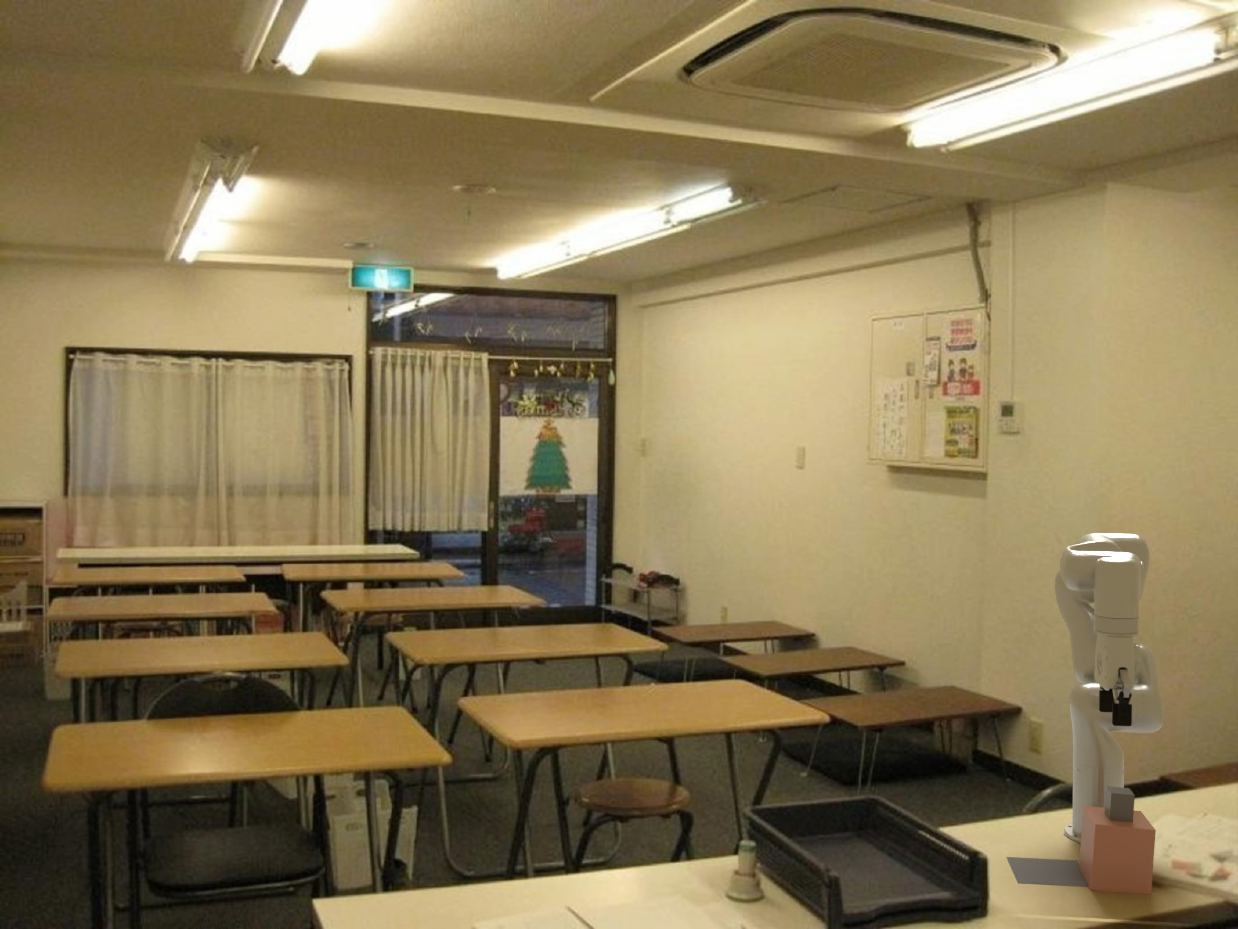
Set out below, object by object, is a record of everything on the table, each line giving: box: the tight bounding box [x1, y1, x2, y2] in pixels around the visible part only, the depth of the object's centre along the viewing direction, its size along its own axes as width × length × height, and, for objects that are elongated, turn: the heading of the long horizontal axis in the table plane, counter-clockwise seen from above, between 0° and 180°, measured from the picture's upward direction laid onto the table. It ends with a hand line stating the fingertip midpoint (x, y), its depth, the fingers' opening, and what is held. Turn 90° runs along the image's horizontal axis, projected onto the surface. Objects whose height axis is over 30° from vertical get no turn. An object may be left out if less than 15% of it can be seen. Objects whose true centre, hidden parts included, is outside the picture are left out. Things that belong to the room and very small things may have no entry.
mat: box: [1006, 856, 1089, 888], centre depth 227 cm, size 13×13×1 cm
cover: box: [1078, 786, 1157, 895], centre depth 222 cm, size 10×10×17 cm
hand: (1114, 718), depth 222 cm, fingers open, 9 cm apart
